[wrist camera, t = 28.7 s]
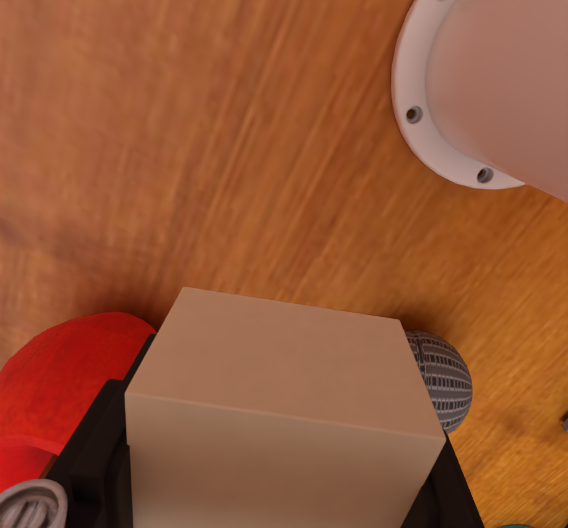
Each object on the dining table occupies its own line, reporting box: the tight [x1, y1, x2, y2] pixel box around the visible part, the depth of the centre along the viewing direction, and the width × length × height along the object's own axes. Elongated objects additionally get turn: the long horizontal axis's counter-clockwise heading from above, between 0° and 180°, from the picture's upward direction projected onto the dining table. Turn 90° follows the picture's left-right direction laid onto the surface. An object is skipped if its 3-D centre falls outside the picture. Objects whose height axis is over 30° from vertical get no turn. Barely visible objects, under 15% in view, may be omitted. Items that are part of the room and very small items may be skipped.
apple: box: [0, 311, 157, 494], centre depth 23 cm, size 10×10×12 cm
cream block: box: [125, 287, 446, 528], centre depth 9 cm, size 6×6×4 cm
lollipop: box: [404, 330, 472, 434], centre depth 30 cm, size 10×20×7 cm
